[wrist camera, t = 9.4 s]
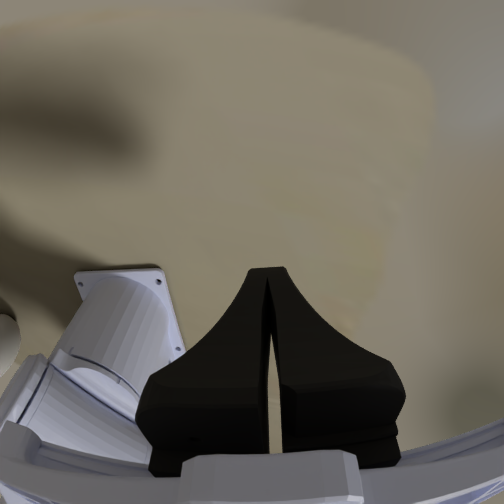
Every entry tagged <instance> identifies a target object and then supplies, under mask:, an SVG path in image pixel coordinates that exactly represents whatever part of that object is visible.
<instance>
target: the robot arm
mask: <svg viewBox="0 0 504 504" xmlns="http://www.w3.org/2000/svg"><path fill="white" fill-rule="evenodd" d="M156 279H159V280H161V282H158V281H157V280H156ZM74 280H75V283H76V285H77V288H78V290H79V293H80V295H81V298H82V300H83V303H82V304H81V306H80V307H79V309H78V310H77V312H76V314H75V315H74V317H73V318H72V320H71V322H70V323H69V325H68V326H67V328H66V330H65V331H64V333H63V335H62V336H61V338H60V339H59V341H58V343H57V345H56V346H55V348H54V350H53V351H52V353H51V355H50V357H49V358H48V359H47V358H46V357H45V356H44V355H43V354H41V353H39V354H37V355H29V356H28V357H27V358H26V359H25V360H24V361H23V363H22V364H21V366H20V367H19V369H18V370H17V371H16V373H15V375H14V376H13V378H12V379H11V381H10V382H9V384H8V386H7V388H6V389H5V391H4V393H3V394H2V396H1V398H0V493H1V495H2V497H1V499H0V504H479V503H480V502H483V501H485V500H487V499H488V498H490V497H492V496H494V495H496V494H498V493H500V492H501V491H503V490H504V418H502V419H499V420H497V421H495V422H492V423H490V424H487V425H485V426H482V427H480V428H477V429H474V430H472V431H469V432H466V433H463V434H460V435H458V436H455V437H452V438H449V439H446V440H443V441H440V442H436V443H433V444H429V445H426V446H422V447H419V448H415V449H411V450H407V451H403V452H400V450H399V446H398V442H397V439H396V436H397V435H398V429H397V425H396V422H395V421H396V419H397V417H398V415H399V413H400V411H401V409H402V407H403V405H404V402H405V399H406V394H405V390H404V387H403V384H402V382H401V379H400V378H399V376H398V374H397V372H396V370H395V369H394V367H393V365H392V363H391V362H390V361H388V360H386V359H384V358H382V357H380V356H377V355H375V354H373V353H371V352H369V351H367V350H365V349H364V348H362V347H360V346H358V345H357V344H355V343H353V342H352V341H350V340H349V339H348V338H346V337H345V336H343V335H342V334H341V333H339V332H338V331H337V330H335V329H334V328H333V327H332V326H331V325H329V324H328V323H327V322H326V321H325V320H324V319H323V318H322V317H321V316H320V315H319V314H318V313H317V312H316V311H315V310H314V309H313V308H312V306H311V305H310V304H309V303H308V302H307V301H306V299H305V298H304V297H303V295H302V294H301V293H300V291H299V290H298V289H297V287H296V286H295V284H294V283H293V281H292V279H291V278H290V276H289V274H288V272H287V270H286V268H284V267H268V268H252V269H250V270H249V271H248V273H247V276H246V278H245V281H244V283H243V285H242V286H241V288H240V290H239V292H238V293H237V295H236V297H235V299H234V300H233V302H232V303H231V305H230V306H229V307H228V309H227V310H226V312H225V313H224V315H223V316H222V317H221V318H220V320H219V321H218V322H217V323H216V324H215V326H214V327H213V328H212V329H211V330H210V331H209V332H208V333H207V334H206V335H205V336H204V337H203V338H202V339H201V340H200V341H199V342H198V343H197V344H196V345H194V346H193V347H192V348H191V349H190V350H188V351H187V352H186V350H185V347H184V344H183V340H182V337H181V334H180V330H179V327H178V323H177V320H176V316H175V312H174V309H173V305H172V301H171V298H170V294H169V290H168V286H167V282H166V278H165V274H164V272H163V271H162V270H161V269H159V268H146V269H126V270H104V271H82V272H76V273H75V275H74ZM80 282H82V283H83V284H81V283H80ZM271 335H272V341H273V347H274V353H275V360H276V366H277V372H278V379H279V388H280V407H281V429H282V452H283V453H277V454H270V452H269V420H268V369H269V355H270V341H271ZM178 347H180V348H178Z"/></svg>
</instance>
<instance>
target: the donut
mask: <svg viewBox="0 0 504 504" xmlns="http://www.w3.org/2000/svg"><path fill="white" fill-rule="evenodd" d="M20 343H21V335H20V329H19V326H18V324H17V323H16V322H15V321H14V320H13V319H12V318H11V317H10V316H8V315H5V314H0V377H1V376H2V375H3V374H4V373H5V372H6V371H7V370H8V369H9V367H10V366H11V364H12V363H13V362H14V360H15V358H16V356H17V354H18V352H19V348H20Z"/></svg>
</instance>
